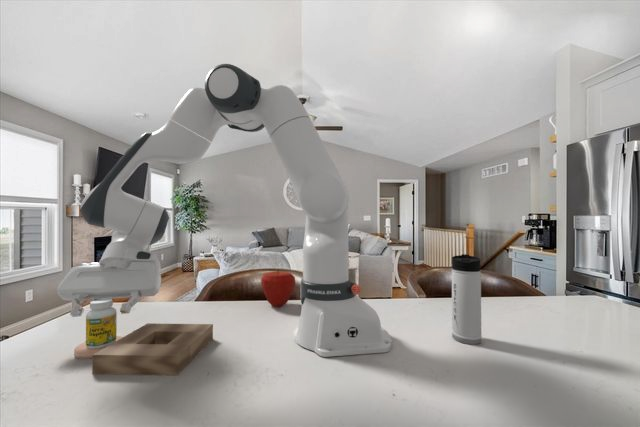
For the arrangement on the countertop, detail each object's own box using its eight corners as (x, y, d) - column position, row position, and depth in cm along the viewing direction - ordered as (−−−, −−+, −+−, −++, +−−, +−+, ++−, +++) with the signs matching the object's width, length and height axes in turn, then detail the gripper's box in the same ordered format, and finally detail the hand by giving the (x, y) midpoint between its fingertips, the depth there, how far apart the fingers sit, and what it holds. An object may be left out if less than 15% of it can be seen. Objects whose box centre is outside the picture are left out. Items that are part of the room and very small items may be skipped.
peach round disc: (134, 340, 67) (134, 336, 67) (104, 359, 58) (105, 354, 58) (97, 340, 67) (97, 335, 67) (62, 358, 58) (62, 353, 58)
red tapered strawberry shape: (301, 304, 96) (301, 268, 97) (280, 312, 87) (280, 273, 88) (276, 299, 102) (276, 265, 103) (254, 306, 93) (254, 270, 93)
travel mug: (480, 336, 70) (479, 254, 71) (482, 347, 64) (481, 258, 65) (452, 331, 73) (451, 253, 73) (452, 341, 67) (451, 256, 67)
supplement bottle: (117, 337, 66) (117, 296, 67) (115, 345, 62) (116, 301, 62) (87, 342, 63) (87, 299, 64) (83, 352, 59) (84, 305, 59)
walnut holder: (212, 338, 68) (213, 324, 68) (177, 375, 52) (177, 356, 52) (147, 338, 68) (147, 323, 69) (92, 373, 53) (92, 354, 53)
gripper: (68, 255, 68) (36, 310, 58) (162, 253, 72) (147, 303, 62) (79, 271, 72) (51, 324, 62) (167, 268, 76) (154, 317, 67)
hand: (100, 314), depth 62 cm, fingers open, 8 cm apart
